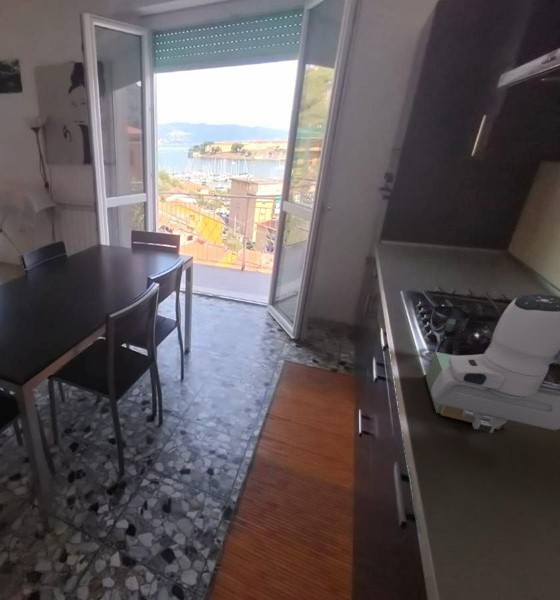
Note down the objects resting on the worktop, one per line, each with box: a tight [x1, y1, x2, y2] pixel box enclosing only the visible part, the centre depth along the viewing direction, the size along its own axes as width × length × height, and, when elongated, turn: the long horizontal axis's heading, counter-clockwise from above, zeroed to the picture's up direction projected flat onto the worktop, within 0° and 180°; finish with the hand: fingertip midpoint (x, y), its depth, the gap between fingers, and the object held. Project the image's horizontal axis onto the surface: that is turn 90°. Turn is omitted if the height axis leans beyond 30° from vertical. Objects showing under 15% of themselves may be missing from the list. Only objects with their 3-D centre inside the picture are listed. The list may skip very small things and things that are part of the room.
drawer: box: [440, 405, 502, 430], centre depth 82 cm, size 18×10×7 cm, turn 154°
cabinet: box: [425, 351, 503, 427], centre depth 85 cm, size 15×12×9 cm
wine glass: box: [424, 305, 471, 360], centre depth 100 cm, size 8×8×15 cm
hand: (481, 429), depth 74 cm, fingers closed, pressing on drawer
